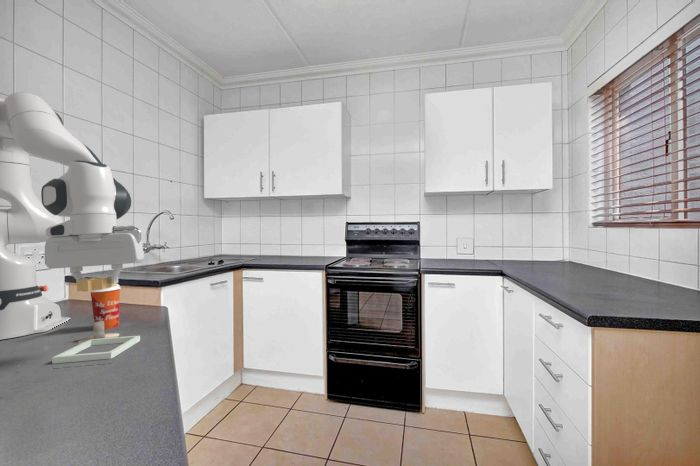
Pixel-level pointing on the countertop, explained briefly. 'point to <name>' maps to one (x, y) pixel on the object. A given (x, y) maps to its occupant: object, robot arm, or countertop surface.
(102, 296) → the paper cup
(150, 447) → the countertop surface
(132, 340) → the tray
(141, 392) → the countertop surface
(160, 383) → the countertop surface
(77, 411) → the countertop surface
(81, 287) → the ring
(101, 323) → the stand
